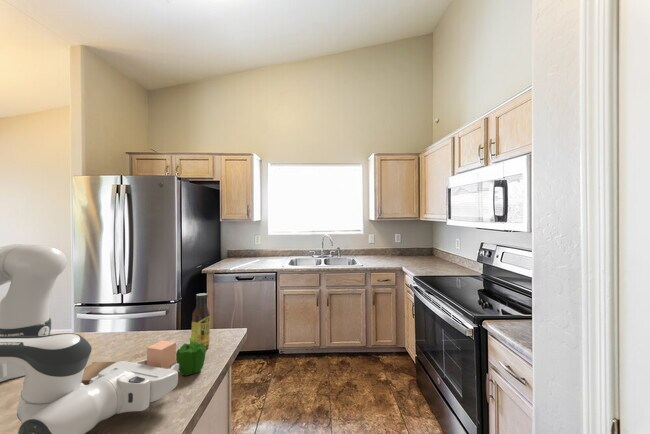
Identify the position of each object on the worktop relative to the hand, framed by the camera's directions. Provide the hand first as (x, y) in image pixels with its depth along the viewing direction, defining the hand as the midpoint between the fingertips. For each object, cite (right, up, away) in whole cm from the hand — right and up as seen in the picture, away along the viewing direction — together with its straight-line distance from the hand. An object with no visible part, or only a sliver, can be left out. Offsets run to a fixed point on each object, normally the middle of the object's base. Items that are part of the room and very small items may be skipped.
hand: (163, 363), depth 82 cm
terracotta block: (0, -7, -1) cm, 7 cm away
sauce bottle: (0, -7, +24) cm, 25 cm away
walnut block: (-17, -6, -1) cm, 18 cm away
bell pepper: (+4, -7, +8) cm, 12 cm away
